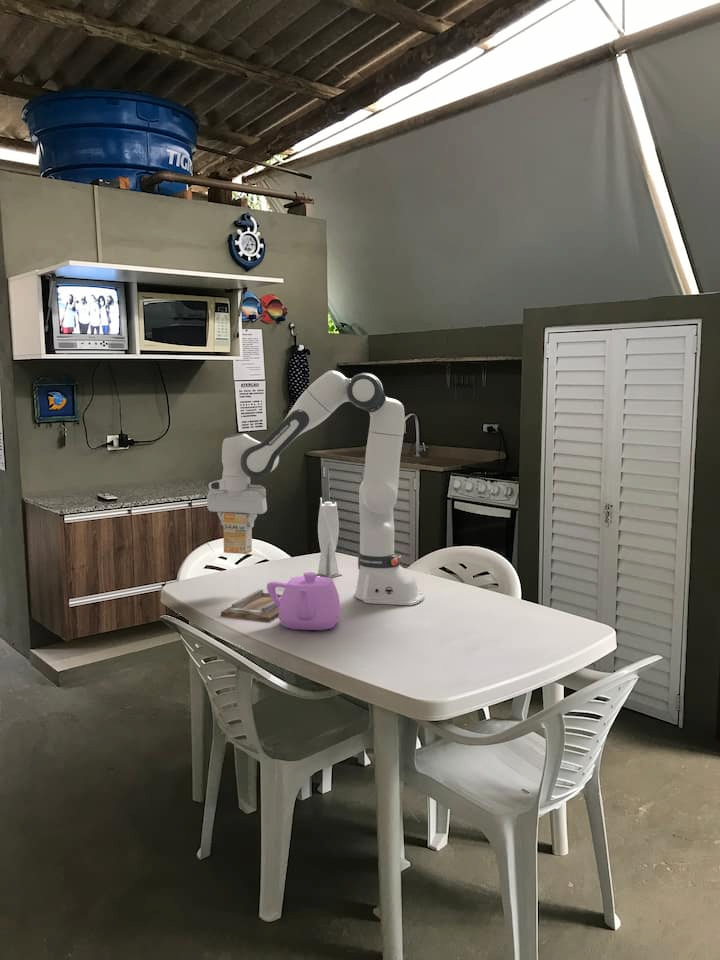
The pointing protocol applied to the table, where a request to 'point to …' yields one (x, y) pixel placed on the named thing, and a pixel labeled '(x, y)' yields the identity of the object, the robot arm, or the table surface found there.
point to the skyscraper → (328, 539)
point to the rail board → (254, 607)
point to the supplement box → (237, 533)
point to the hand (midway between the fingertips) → (237, 526)
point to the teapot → (307, 602)
